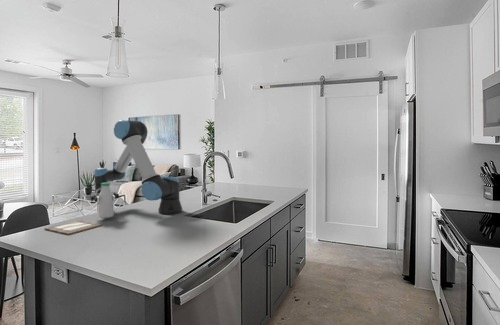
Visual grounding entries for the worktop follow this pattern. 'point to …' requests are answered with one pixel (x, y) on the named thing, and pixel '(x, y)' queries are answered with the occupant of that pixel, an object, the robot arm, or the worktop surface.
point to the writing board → (73, 227)
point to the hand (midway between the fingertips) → (106, 199)
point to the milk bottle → (105, 201)
